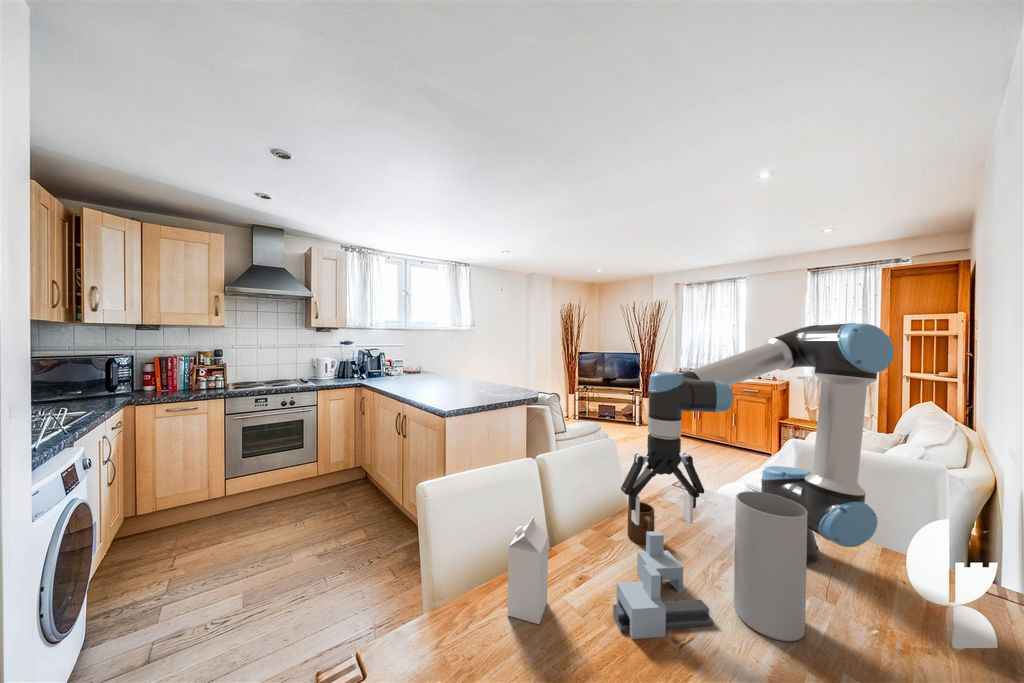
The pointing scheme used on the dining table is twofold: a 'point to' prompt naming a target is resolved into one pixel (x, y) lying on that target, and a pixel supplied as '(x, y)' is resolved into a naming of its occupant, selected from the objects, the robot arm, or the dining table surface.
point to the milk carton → (528, 573)
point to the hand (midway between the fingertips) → (661, 521)
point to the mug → (641, 523)
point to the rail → (672, 615)
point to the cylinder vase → (770, 564)
